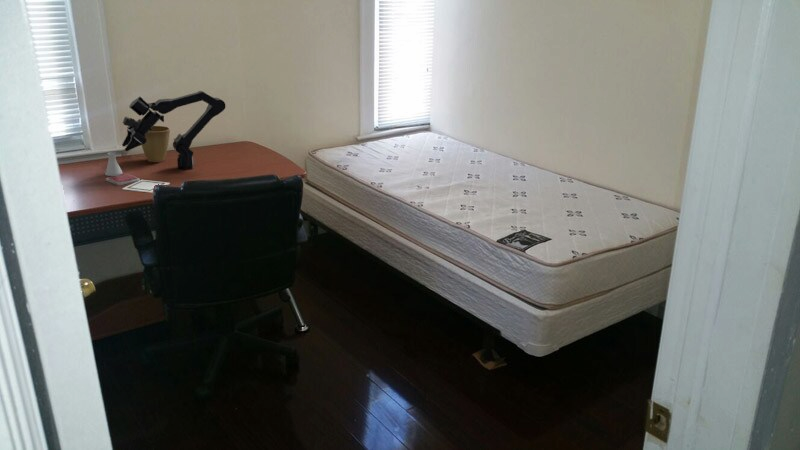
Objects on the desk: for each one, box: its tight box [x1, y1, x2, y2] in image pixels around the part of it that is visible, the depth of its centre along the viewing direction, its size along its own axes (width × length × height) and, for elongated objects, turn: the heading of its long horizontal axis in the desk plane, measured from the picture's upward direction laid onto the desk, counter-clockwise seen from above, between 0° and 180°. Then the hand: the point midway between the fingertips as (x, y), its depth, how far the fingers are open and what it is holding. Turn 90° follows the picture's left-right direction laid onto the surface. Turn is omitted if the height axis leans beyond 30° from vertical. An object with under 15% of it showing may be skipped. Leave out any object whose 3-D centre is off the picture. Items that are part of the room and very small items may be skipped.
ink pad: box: [105, 173, 140, 186], centre depth 282 cm, size 10×10×2 cm
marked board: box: [121, 179, 171, 194], centre depth 276 cm, size 14×14×1 cm
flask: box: [104, 151, 123, 177], centre depth 290 cm, size 7×7×10 cm
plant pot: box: [141, 125, 171, 163], centre depth 313 cm, size 15×15×16 cm
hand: (124, 148), depth 290 cm, fingers open, 9 cm apart
